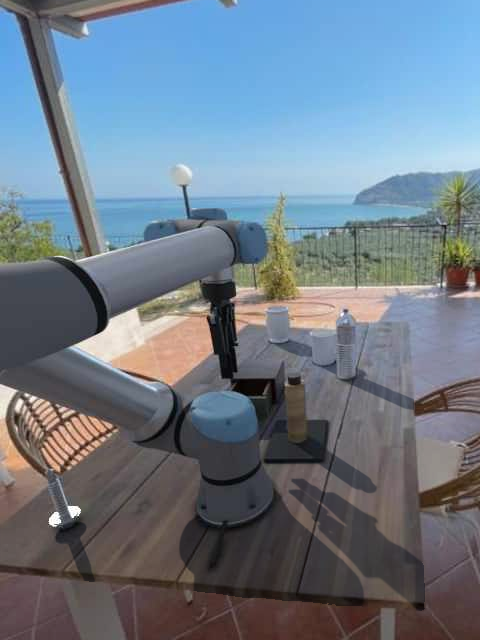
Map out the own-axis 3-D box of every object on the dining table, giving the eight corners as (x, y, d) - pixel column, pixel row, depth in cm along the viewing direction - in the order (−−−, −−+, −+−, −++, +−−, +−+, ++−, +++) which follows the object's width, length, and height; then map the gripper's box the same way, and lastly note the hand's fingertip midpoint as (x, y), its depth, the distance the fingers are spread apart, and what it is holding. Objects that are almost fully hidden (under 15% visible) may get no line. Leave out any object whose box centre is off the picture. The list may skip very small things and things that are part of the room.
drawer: (264, 427, 106) (262, 405, 104) (218, 427, 106) (215, 406, 103) (277, 395, 124) (275, 376, 121) (237, 396, 123) (235, 376, 121)
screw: (88, 514, 78) (73, 533, 73) (62, 515, 77) (46, 535, 73) (70, 460, 73) (53, 477, 69) (43, 461, 73) (24, 478, 68)
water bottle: (353, 381, 136) (353, 312, 127) (334, 379, 137) (333, 310, 128) (357, 373, 142) (357, 306, 133) (339, 371, 143) (338, 305, 134)
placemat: (322, 461, 94) (322, 458, 94) (264, 461, 94) (263, 459, 93) (326, 421, 111) (326, 419, 110) (277, 422, 110) (277, 419, 110)
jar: (263, 343, 172) (260, 310, 166) (272, 336, 181) (269, 304, 176) (286, 345, 170) (284, 311, 164) (294, 337, 179) (292, 305, 174)
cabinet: (277, 403, 121) (275, 378, 118) (233, 403, 121) (230, 378, 117) (285, 381, 135) (283, 358, 132) (246, 381, 135) (243, 359, 132)
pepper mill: (306, 442, 100) (302, 379, 93) (287, 442, 100) (282, 379, 93) (308, 432, 104) (305, 370, 98) (289, 432, 104) (285, 370, 98)
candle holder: (341, 360, 154) (340, 331, 150) (326, 368, 146) (325, 338, 142) (321, 355, 159) (320, 327, 154) (306, 362, 151) (304, 333, 147)
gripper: (212, 274, 95) (224, 362, 104) (186, 287, 80) (203, 389, 89) (243, 274, 95) (252, 362, 104) (223, 287, 80) (236, 389, 89)
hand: (229, 374), depth 96 cm, fingers open, 3 cm apart
